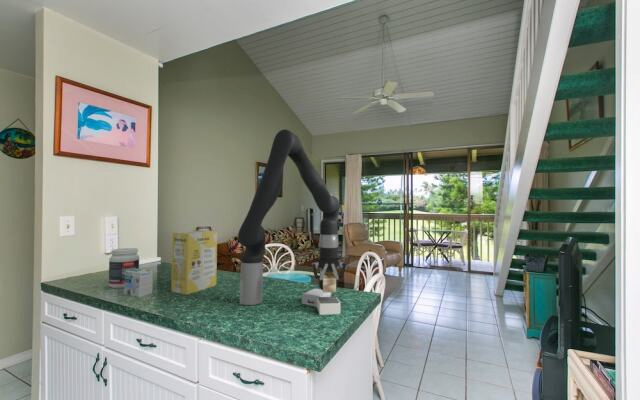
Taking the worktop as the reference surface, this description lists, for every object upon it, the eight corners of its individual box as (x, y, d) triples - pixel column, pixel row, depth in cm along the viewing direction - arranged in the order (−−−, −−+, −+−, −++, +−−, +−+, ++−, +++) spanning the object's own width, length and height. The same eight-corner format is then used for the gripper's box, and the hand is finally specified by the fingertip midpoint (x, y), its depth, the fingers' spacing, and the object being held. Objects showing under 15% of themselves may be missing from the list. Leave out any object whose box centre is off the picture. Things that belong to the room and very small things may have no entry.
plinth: (319, 314, 112) (319, 303, 112) (317, 307, 120) (317, 296, 120) (340, 313, 113) (340, 302, 113) (336, 306, 121) (336, 296, 121)
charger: (337, 298, 133) (320, 308, 120) (319, 295, 137) (301, 304, 124) (337, 287, 133) (320, 296, 120) (319, 285, 137) (301, 292, 125)
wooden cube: (323, 292, 113) (323, 279, 114) (321, 289, 118) (321, 276, 119) (336, 292, 114) (336, 279, 114) (333, 288, 119) (333, 276, 119)
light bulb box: (123, 294, 135) (124, 270, 136) (137, 290, 142) (137, 268, 142) (139, 297, 131) (140, 273, 132) (153, 293, 138) (153, 270, 138)
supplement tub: (127, 289, 144) (128, 251, 144) (101, 288, 144) (102, 251, 145) (144, 282, 157) (144, 247, 157) (120, 282, 157) (121, 247, 157)
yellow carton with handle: (201, 282, 157) (202, 230, 158) (216, 285, 152) (217, 231, 153) (171, 291, 141) (172, 232, 141) (186, 294, 136) (188, 233, 137)
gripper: (311, 247, 112) (311, 292, 112) (348, 246, 114) (348, 291, 114) (309, 244, 120) (309, 287, 119) (344, 244, 121) (344, 285, 121)
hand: (328, 288), depth 116 cm, fingers closed on wooden cube, 5 cm apart
